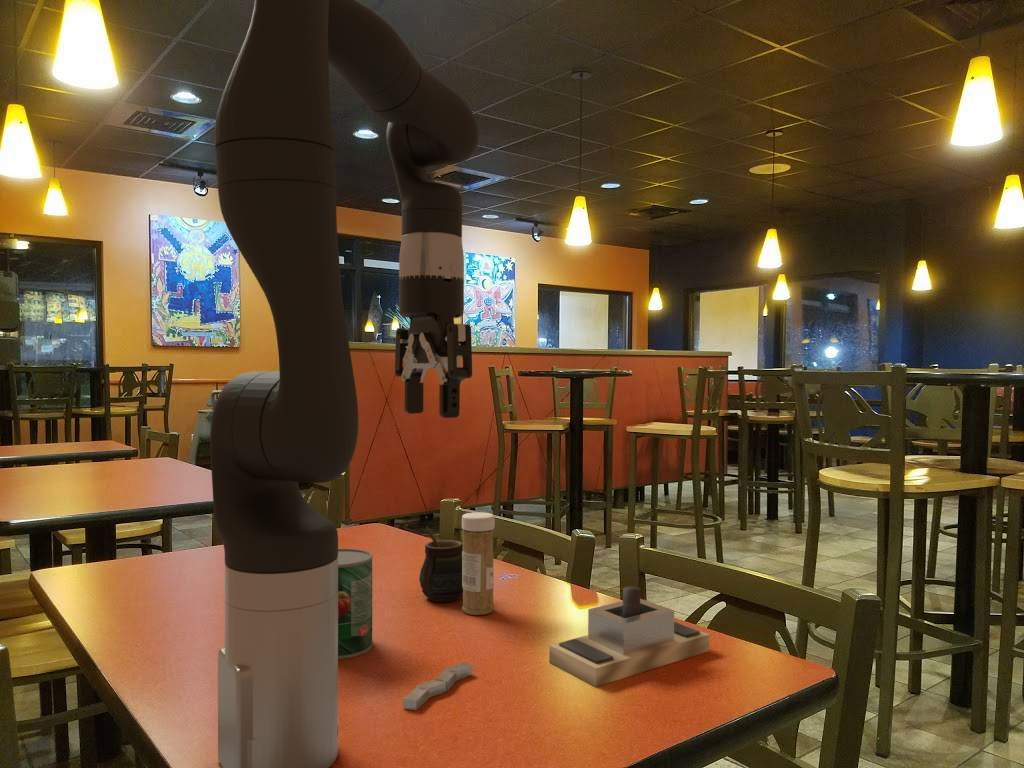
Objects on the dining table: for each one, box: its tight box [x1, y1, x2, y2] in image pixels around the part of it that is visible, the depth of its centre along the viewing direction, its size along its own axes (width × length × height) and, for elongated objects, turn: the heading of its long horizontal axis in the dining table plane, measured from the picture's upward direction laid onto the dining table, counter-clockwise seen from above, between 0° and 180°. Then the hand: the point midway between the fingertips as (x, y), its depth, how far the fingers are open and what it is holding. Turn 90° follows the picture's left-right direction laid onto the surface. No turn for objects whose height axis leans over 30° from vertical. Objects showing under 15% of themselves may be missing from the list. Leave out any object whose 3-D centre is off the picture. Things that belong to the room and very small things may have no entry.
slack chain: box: [402, 661, 473, 711], centre depth 78 cm, size 11×2×1 cm, turn 149°
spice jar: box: [461, 511, 496, 616], centre depth 103 cm, size 5×5×14 cm
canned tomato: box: [338, 548, 374, 660], centre depth 90 cm, size 8×8×11 cm
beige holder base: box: [548, 585, 710, 688], centre depth 87 cm, size 18×8×8 cm, turn 125°
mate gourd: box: [418, 526, 463, 603], centre depth 109 cm, size 7×8×10 cm
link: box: [587, 598, 675, 655], centre depth 87 cm, size 8×6×4 cm
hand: (431, 415), depth 87 cm, fingers open, 8 cm apart
